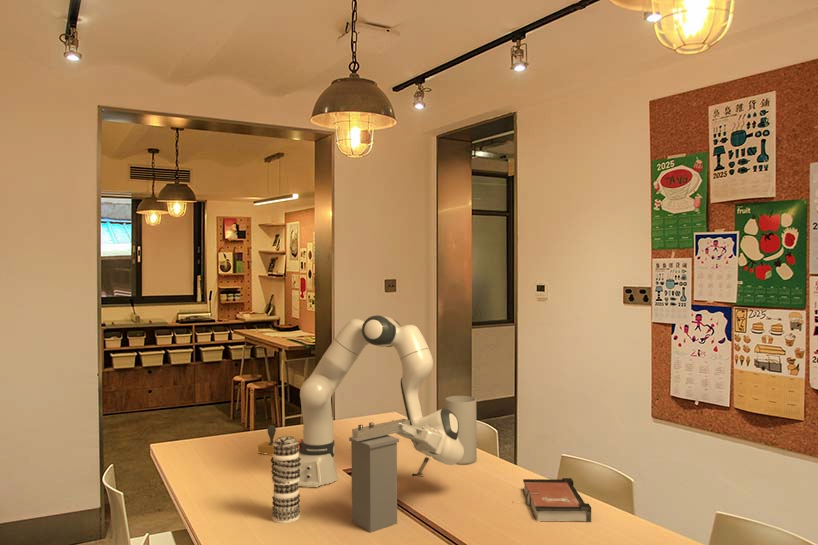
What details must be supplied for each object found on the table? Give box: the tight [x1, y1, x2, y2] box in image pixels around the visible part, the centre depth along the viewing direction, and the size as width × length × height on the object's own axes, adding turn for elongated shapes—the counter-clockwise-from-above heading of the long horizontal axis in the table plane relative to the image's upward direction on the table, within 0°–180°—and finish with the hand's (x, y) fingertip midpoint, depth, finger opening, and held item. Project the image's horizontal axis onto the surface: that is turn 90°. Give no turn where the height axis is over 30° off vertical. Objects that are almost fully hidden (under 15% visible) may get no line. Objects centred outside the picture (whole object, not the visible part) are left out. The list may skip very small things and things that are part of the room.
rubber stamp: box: [257, 424, 277, 454], centre depth 259 cm, size 10×6×12 cm, turn 69°
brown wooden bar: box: [351, 418, 410, 441], centre depth 188 cm, size 20×3×4 cm, turn 129°
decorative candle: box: [270, 435, 301, 524], centre depth 191 cm, size 9×9×25 cm
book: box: [522, 477, 592, 523], centre depth 200 cm, size 26×18×5 cm
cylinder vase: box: [445, 395, 478, 465], centre depth 248 cm, size 12×12×25 cm
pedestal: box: [348, 434, 400, 533], centre depth 187 cm, size 11×11×26 cm
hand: (397, 424), depth 192 cm, fingers closed on brown wooden bar, 3 cm apart
